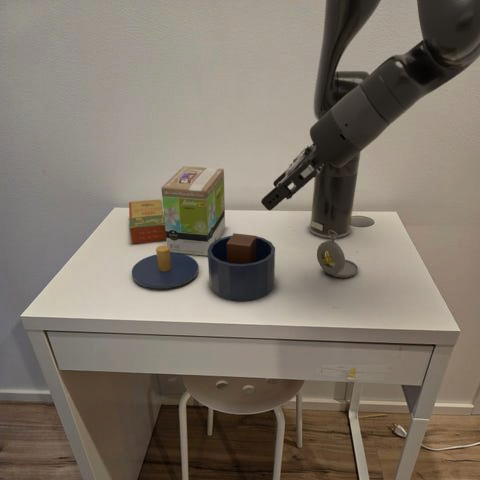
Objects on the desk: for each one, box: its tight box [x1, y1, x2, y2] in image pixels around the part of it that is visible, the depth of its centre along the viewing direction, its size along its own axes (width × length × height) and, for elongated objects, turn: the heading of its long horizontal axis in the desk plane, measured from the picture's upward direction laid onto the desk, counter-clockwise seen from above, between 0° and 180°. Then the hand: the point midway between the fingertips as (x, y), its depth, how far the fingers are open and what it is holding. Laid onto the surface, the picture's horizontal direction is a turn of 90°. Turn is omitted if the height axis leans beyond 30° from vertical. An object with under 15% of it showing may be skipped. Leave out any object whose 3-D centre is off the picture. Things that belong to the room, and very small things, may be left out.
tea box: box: [160, 166, 226, 257], centre depth 97 cm, size 15×10×15 cm, turn 168°
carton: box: [128, 199, 167, 245], centre depth 105 cm, size 8×16×4 cm, turn 12°
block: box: [227, 232, 257, 264], centre depth 82 cm, size 4×4×9 cm
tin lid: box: [131, 244, 200, 289], centre depth 87 cm, size 13×13×6 cm
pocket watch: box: [316, 230, 359, 278], centre depth 85 cm, size 8×8×10 cm
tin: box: [207, 235, 276, 302], centre depth 83 cm, size 12×12×8 cm
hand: (271, 196), depth 73 cm, fingers open, 8 cm apart
